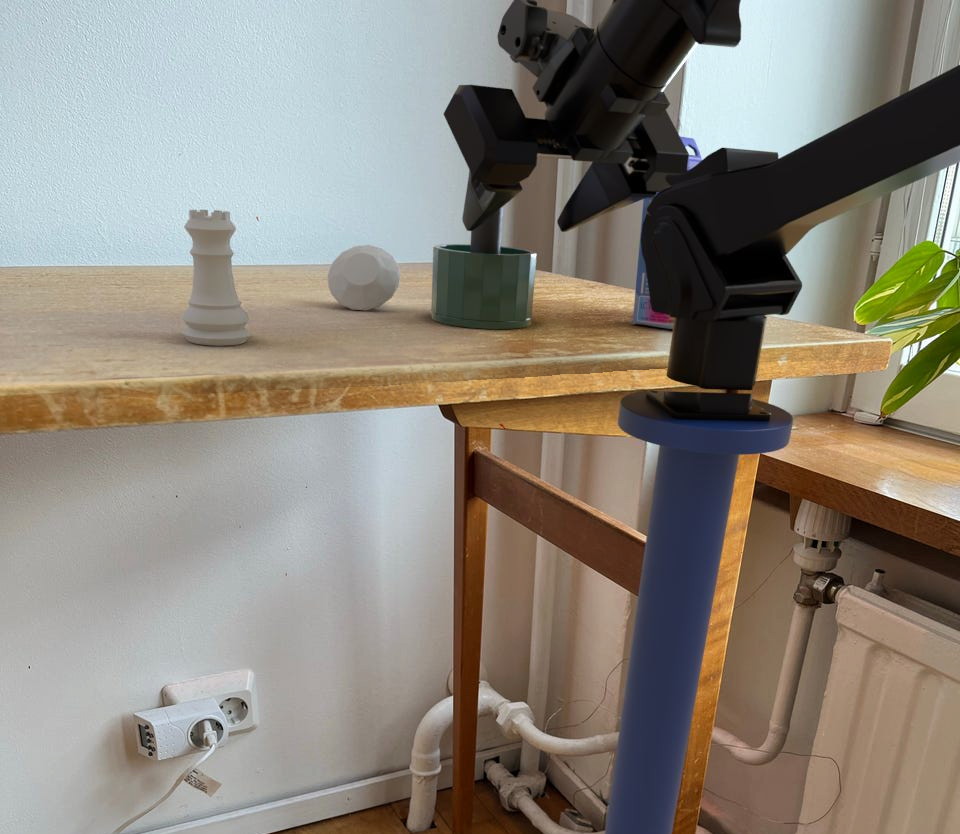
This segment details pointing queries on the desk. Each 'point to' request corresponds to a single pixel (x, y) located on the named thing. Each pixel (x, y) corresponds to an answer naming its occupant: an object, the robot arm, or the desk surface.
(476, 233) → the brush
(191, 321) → the rook chess piece
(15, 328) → the desk surface
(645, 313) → the ink cartridge box
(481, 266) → the green faceted pot
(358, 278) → the gemstone
